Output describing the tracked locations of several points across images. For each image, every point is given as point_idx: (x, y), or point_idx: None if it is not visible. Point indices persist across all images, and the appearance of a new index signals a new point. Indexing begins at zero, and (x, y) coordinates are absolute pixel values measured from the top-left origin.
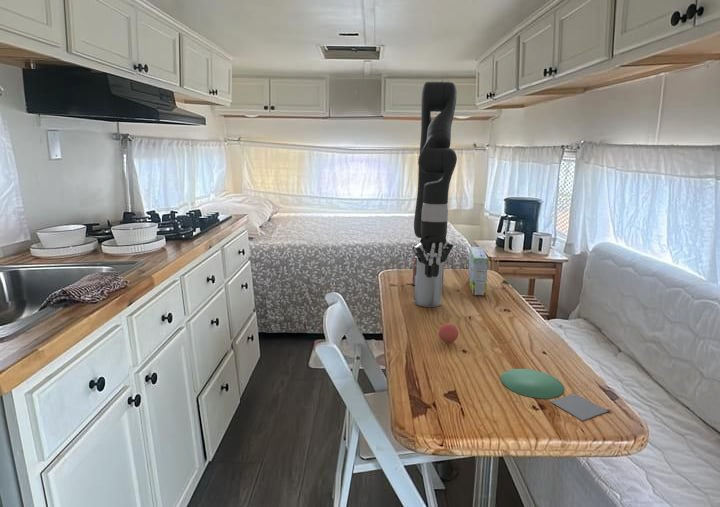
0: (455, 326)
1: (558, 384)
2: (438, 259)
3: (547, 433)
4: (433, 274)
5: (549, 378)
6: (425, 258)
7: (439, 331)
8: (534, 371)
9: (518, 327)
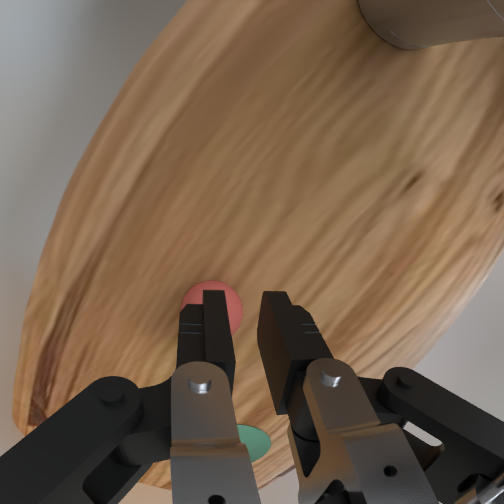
0: (231, 334)
1: (254, 457)
2: (313, 462)
3: (154, 483)
4: (263, 323)
5: (259, 449)
6: (125, 491)
7: (183, 304)
8: (260, 435)
9: (432, 295)
